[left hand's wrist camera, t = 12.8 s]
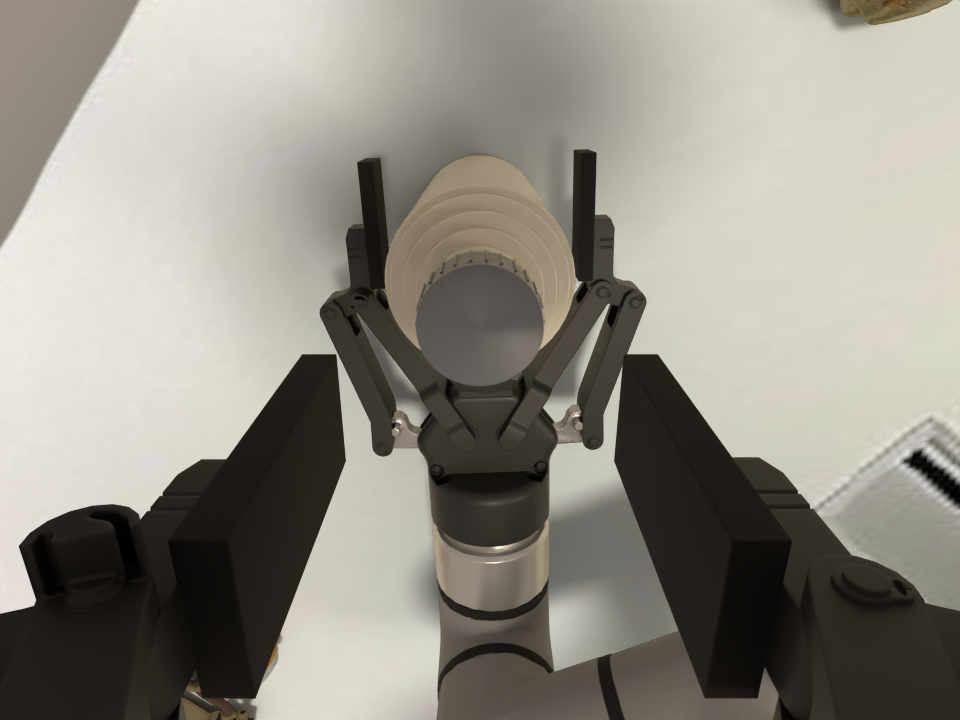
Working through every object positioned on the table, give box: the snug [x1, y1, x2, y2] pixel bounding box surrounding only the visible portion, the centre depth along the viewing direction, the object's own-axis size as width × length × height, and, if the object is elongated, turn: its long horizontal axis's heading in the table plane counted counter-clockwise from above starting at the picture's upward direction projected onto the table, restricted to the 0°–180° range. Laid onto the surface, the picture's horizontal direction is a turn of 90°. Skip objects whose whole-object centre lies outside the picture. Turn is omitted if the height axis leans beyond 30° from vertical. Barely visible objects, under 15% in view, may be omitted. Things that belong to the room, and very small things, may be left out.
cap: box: [415, 250, 545, 386], centre depth 21 cm, size 4×4×2 cm
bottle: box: [385, 155, 575, 350], centre depth 30 cm, size 8×8×21 cm
